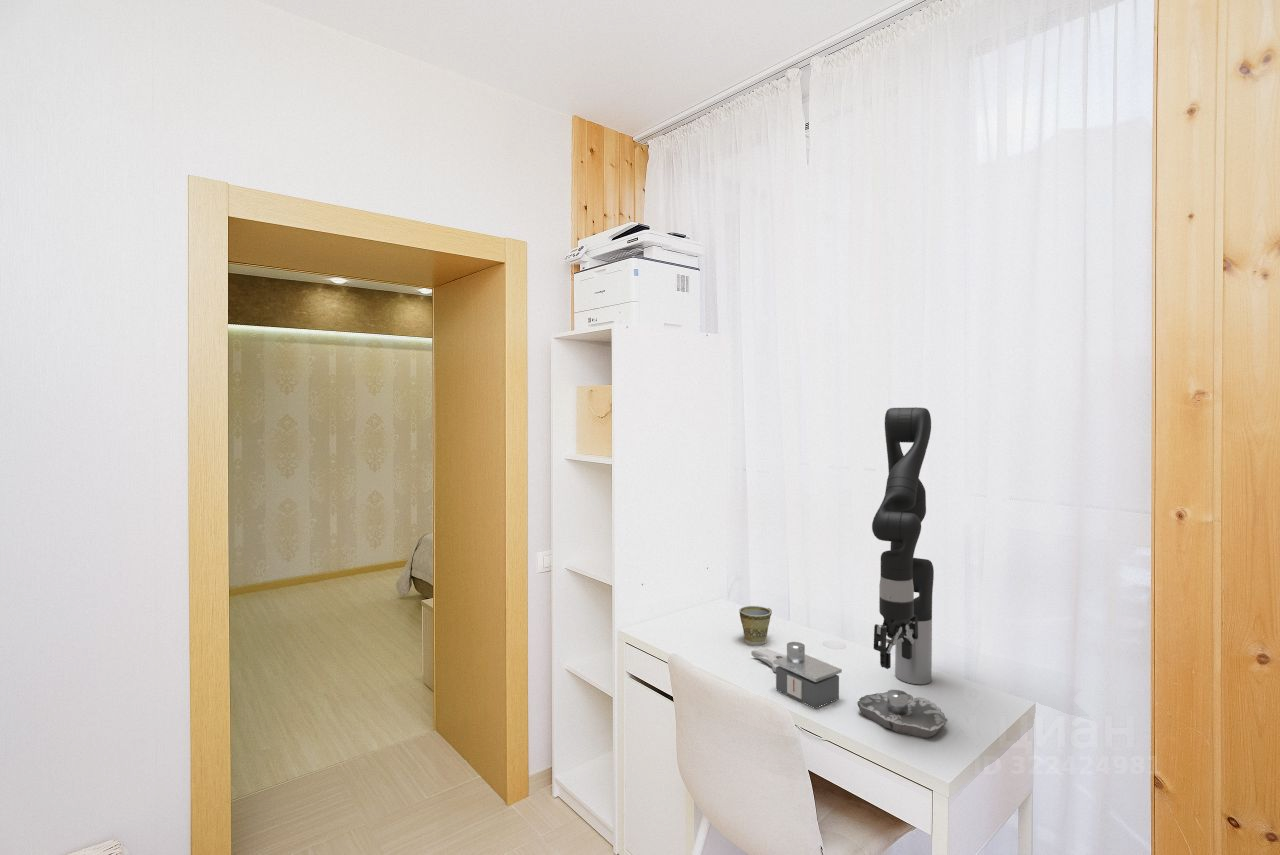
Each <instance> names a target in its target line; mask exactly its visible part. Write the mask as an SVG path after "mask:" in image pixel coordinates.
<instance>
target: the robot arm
mask: <svg viewBox="0 0 1280 855" xmlns="http://www.w3.org/2000/svg"><path fill="white" fill-rule="evenodd" d="M931 432H932V418H931V413H930V411H929V409H928V408H925V407H890V408H888V409H887V410H886V413H885V415H884V435H885V444H886V454H887V462H888V464H887V465H888V467H887V468H888V476H887V479H886V484H885V492H884V496H883V499H882V502H881V503H880V506H879V507H878V509H877V511H876V513H875V514H874V516H873V519H872V522H871V530H872V531H871V532H872V533H873V536H874V538H876V539H878V540H879V541H882V542H890V550H886V551H883V552H882V553H881V555H880V577H879V578H880V580H879V600H878V601H879V602H878V603H879V610H878V611H879V614H880V615H881V616H882V617H883V623H882V624H877V623H876V624H874V627H873V628H874V629H873V650H875V651H877V652H879V658H880V659H879V660H880V661H879V663H880V667H881V668H884V669H887V670H888V669H890V668H891V665H892V664H891V651H892V649H893V646H895V652H894V653H895V658H894V660H895V662H894V666H895V667H894V669H895V670H894V672H895V673H894V676H895V677H896V678H897V679H898V680H899V681H902V682H905V683H908V684H913V685H927V684H930V683H932V675H933V674H932V673H933V672H932V669H933V668H932V667H933V664H932V663H933V662H932V660H933V656H932V655H933V654H932V653H933V648H932V647H933V590H934V578H935V577H934V576H935V575H934V571H935V570H934V565H933V563H932V561H931V560H930V559H925V558H918V557H914V554H915V550H916V546H917V544H918V541H919V538H920V535H921V533H922V532H921V531H922V522H923V521H924V519H925V516H926V513H927V498H926V497H927V496H926V494H927V493H926V489H925V488H926V487H925V486H924V484H923V482H922V481H921V480H920V478H919V477H920V473H921V469H922V466H923V462H924V459H925V458H926V457H925V456H926V453H927V449H928V445H929V443H930V442H929V441H930V439H931ZM901 443H912V445H911V447H910V448H909V450H908V451H907V452H906V453H905V454H904V453H903V451H902V447H901V446H902V445H901ZM915 593H918V596H917V597H915V596H914V594H915ZM914 597H915V598H914ZM879 642H880V643H879Z"/></svg>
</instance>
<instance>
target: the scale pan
mask: <svg viewBox="0 0 1280 855" xmlns="http://www.w3.org/2000/svg"><path fill="white" fill-rule="evenodd" d="M774 664H776V665H778V666H781V667H783V668H785V669H787V670H789V671H792V672H794V673H796V674H798V675H801V676H803V677H805V678H807V679H810V680H812V681H814V682H818V681H820V680H823V679H826V678H828V677H831V676H834V675H839V674H842V672H843V671H842V668H839V667H838V666H834V665H831V664H830V663H827V662H825V661H823V660H821V659H818V658H816V657H812V656H810V655H808V654H805V661H804V662H803V663H791V662H789V661H788V660H787V656H785V657H782V658H779V659H776V660H774Z"/></svg>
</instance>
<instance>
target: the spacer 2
mask: <svg viewBox="0 0 1280 855" xmlns="http://www.w3.org/2000/svg"><path fill="white" fill-rule="evenodd" d="M886 692H887V710H888V711H889V712H890V713H893V714H896V715H906V714H908V693H907V692H905V691H902V690H899V689H890V690H887V691H886Z"/></svg>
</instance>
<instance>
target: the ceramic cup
mask: <svg viewBox="0 0 1280 855" xmlns="http://www.w3.org/2000/svg"><path fill="white" fill-rule="evenodd" d="M738 612H739V617H740V621H741V625H742V630H743V637H744V642H745V644H748V645H750V646H762V645H764V643H765V644H766V642H767V637H768V632H769V631H768V630H769V626H770V622H771V616H772V612H773V610H772V609H771V608H770V607H768V608H767V607H764V606H761V605H760V606H759V605H747V606H746V605H745V606H742V607H740V608H739V610H738ZM761 644H762V645H761Z"/></svg>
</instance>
